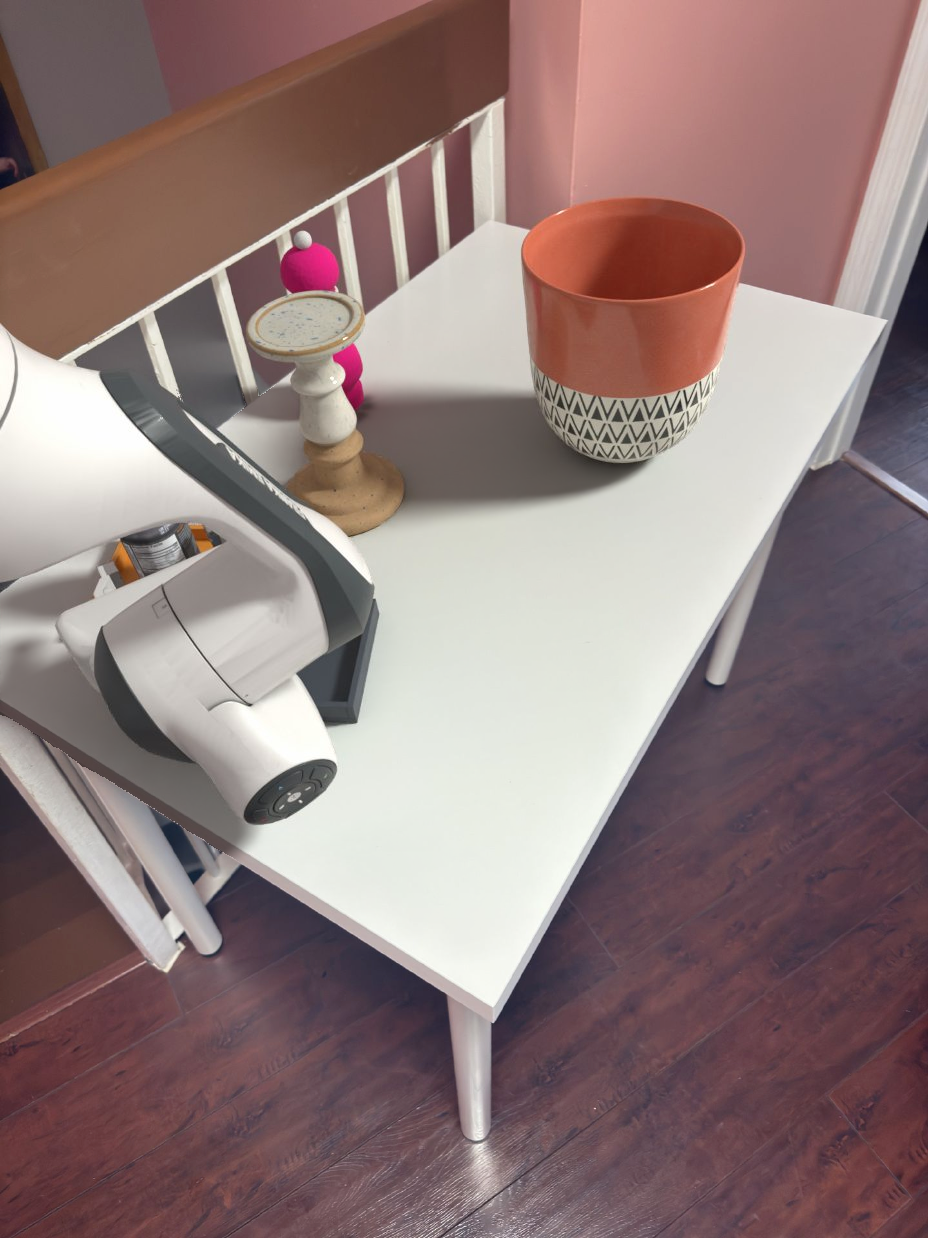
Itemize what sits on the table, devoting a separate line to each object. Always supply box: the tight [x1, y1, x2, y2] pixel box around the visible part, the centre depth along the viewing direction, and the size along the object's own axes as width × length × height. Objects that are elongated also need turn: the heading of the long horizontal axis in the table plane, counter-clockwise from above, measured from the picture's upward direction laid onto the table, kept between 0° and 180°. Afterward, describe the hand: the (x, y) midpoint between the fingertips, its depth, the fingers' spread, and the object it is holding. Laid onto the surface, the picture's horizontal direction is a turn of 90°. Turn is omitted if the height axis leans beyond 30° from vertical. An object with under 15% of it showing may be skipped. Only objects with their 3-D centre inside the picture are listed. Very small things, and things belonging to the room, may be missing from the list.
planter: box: [520, 196, 746, 464], centre depth 88 cm, size 20×20×21 cm
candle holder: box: [245, 290, 405, 537], centre depth 86 cm, size 12×12×20 cm
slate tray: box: [296, 598, 380, 724], centre depth 78 cm, size 12×12×2 cm
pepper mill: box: [279, 230, 365, 412], centre depth 98 cm, size 7×7×20 cm
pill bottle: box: [119, 523, 201, 579], centre depth 82 cm, size 6×6×11 cm
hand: (160, 547), depth 79 cm, fingers open, 8 cm apart
